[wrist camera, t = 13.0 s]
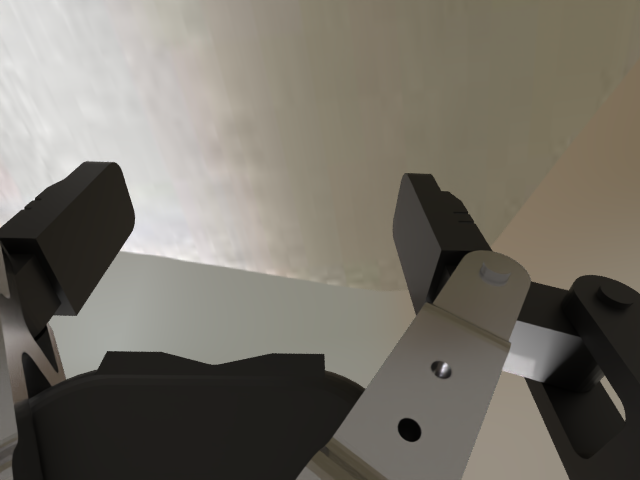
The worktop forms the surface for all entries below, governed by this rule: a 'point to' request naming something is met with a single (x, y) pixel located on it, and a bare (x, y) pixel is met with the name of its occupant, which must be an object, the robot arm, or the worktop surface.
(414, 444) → the robot arm
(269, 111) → the worktop surface
